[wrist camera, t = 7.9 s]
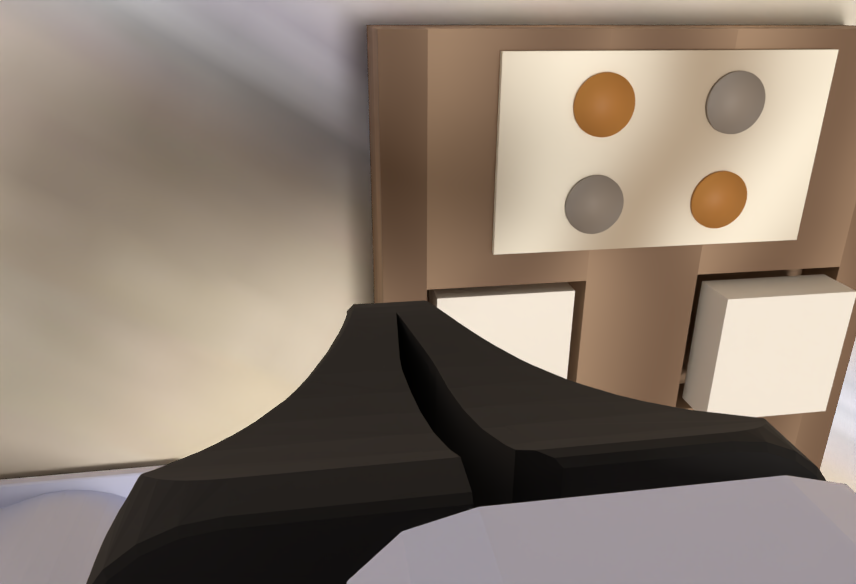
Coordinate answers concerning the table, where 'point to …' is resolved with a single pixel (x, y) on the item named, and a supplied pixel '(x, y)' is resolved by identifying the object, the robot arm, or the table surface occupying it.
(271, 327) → the table surface
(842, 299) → the button
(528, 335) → the button
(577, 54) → the button board
